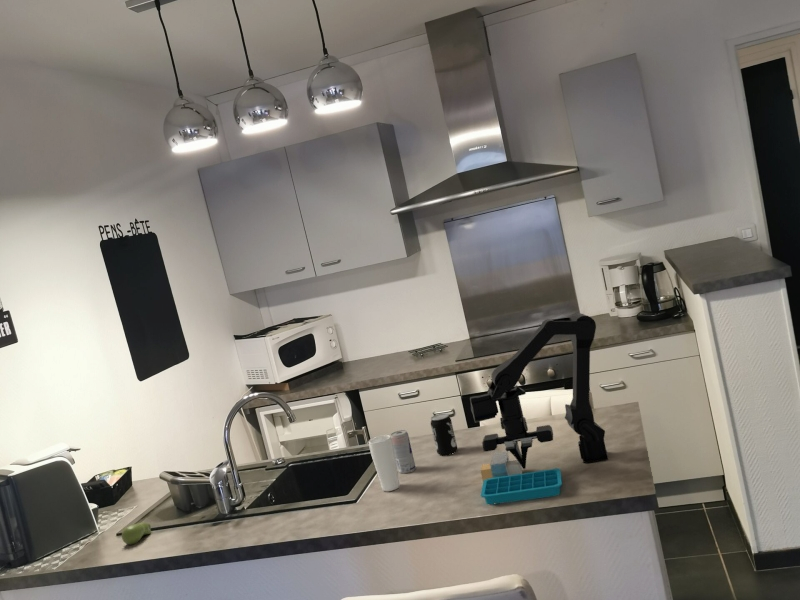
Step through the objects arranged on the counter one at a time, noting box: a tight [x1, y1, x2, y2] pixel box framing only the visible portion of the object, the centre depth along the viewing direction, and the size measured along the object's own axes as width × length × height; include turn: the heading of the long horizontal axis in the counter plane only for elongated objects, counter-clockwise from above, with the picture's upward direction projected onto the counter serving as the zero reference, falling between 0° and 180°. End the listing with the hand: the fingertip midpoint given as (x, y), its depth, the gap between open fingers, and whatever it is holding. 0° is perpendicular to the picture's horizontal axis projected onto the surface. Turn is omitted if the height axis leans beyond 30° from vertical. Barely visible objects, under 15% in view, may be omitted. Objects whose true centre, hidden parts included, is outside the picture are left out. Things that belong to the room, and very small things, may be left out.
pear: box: [121, 522, 152, 546], centre depth 210 cm, size 6×5×10 cm
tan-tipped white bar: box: [479, 459, 523, 482], centre depth 193 cm, size 10×4×4 cm, turn 76°
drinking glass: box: [368, 434, 401, 492], centre depth 203 cm, size 7×7×15 cm
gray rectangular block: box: [489, 450, 511, 478], centre depth 193 cm, size 4×9×6 cm, turn 167°
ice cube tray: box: [480, 468, 563, 505], centre depth 180 cm, size 12×20×3 cm, turn 79°
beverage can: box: [430, 413, 458, 457], centre depth 224 cm, size 7×7×12 cm
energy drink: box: [390, 429, 416, 475], centre depth 216 cm, size 5×5×12 cm
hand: (524, 468), depth 191 cm, fingers closed
